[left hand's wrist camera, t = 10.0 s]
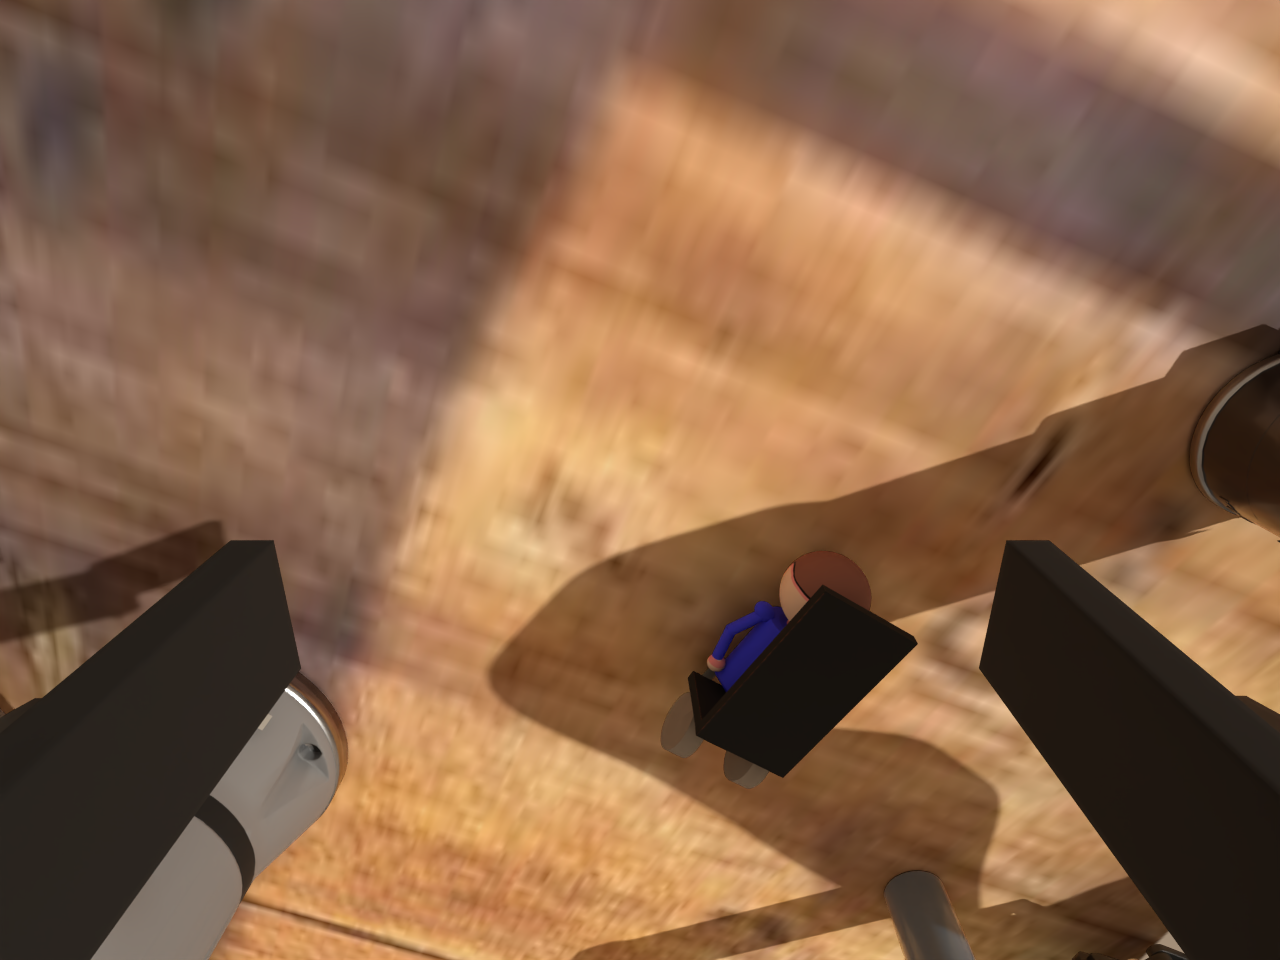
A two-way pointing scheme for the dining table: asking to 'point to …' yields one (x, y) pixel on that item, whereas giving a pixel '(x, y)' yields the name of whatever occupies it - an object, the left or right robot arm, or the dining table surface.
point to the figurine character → (788, 672)
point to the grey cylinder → (925, 918)
